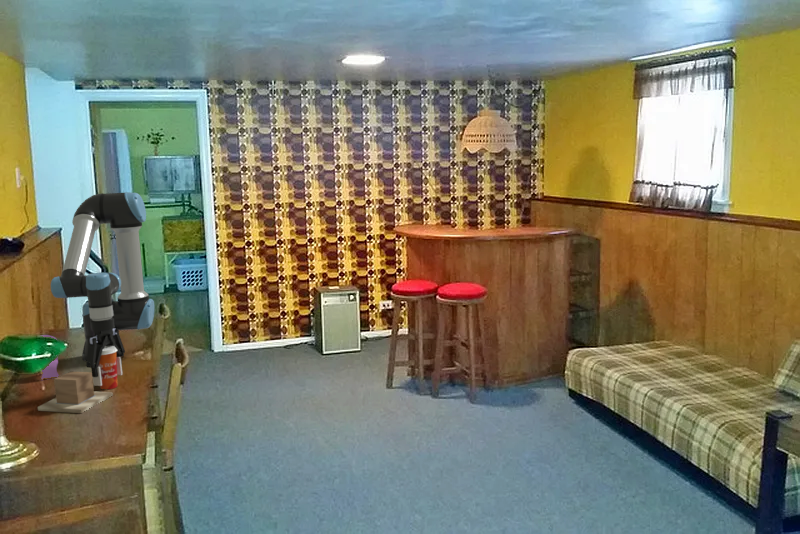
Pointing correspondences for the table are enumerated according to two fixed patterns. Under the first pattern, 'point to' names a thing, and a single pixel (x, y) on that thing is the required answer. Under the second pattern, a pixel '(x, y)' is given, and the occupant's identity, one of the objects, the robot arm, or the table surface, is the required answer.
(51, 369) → the toy chair
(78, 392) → the walnut block
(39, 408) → the blueprint plate
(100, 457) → the table surface
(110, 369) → the paper cup
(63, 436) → the table surface
